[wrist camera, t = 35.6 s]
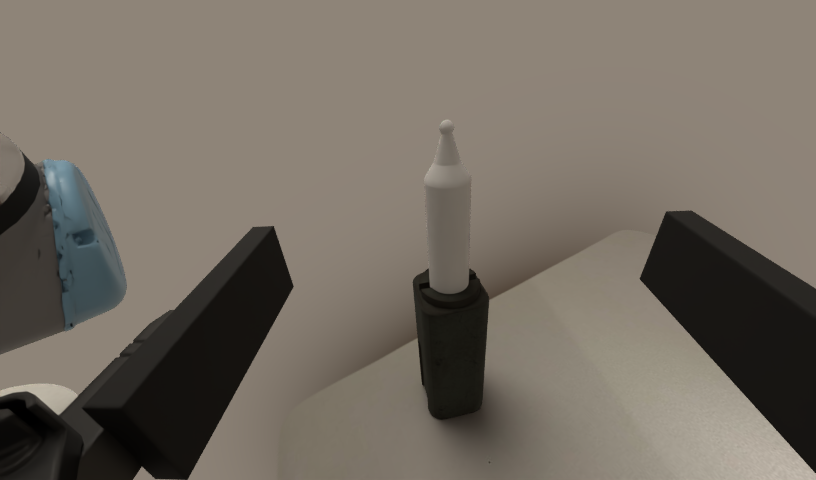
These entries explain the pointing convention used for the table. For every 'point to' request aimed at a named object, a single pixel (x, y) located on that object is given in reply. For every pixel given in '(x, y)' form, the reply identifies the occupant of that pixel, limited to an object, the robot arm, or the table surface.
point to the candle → (450, 291)
